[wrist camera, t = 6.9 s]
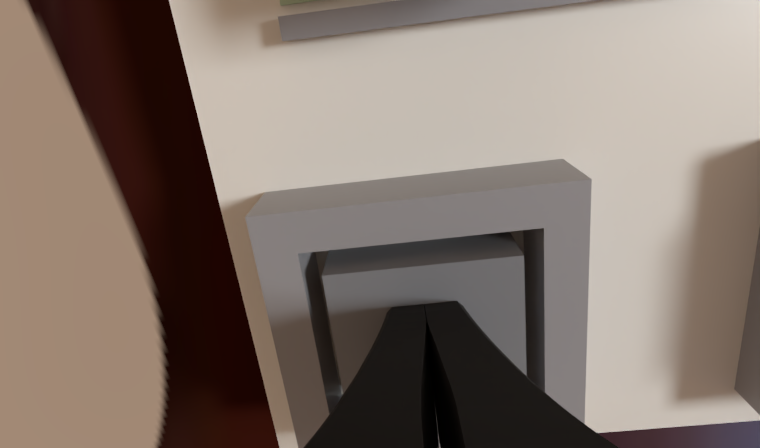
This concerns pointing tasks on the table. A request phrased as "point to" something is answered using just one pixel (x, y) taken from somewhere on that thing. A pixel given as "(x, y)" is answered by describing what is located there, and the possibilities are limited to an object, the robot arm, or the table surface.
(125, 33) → the table surface
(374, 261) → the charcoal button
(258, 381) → the table surface
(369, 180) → the control panel
